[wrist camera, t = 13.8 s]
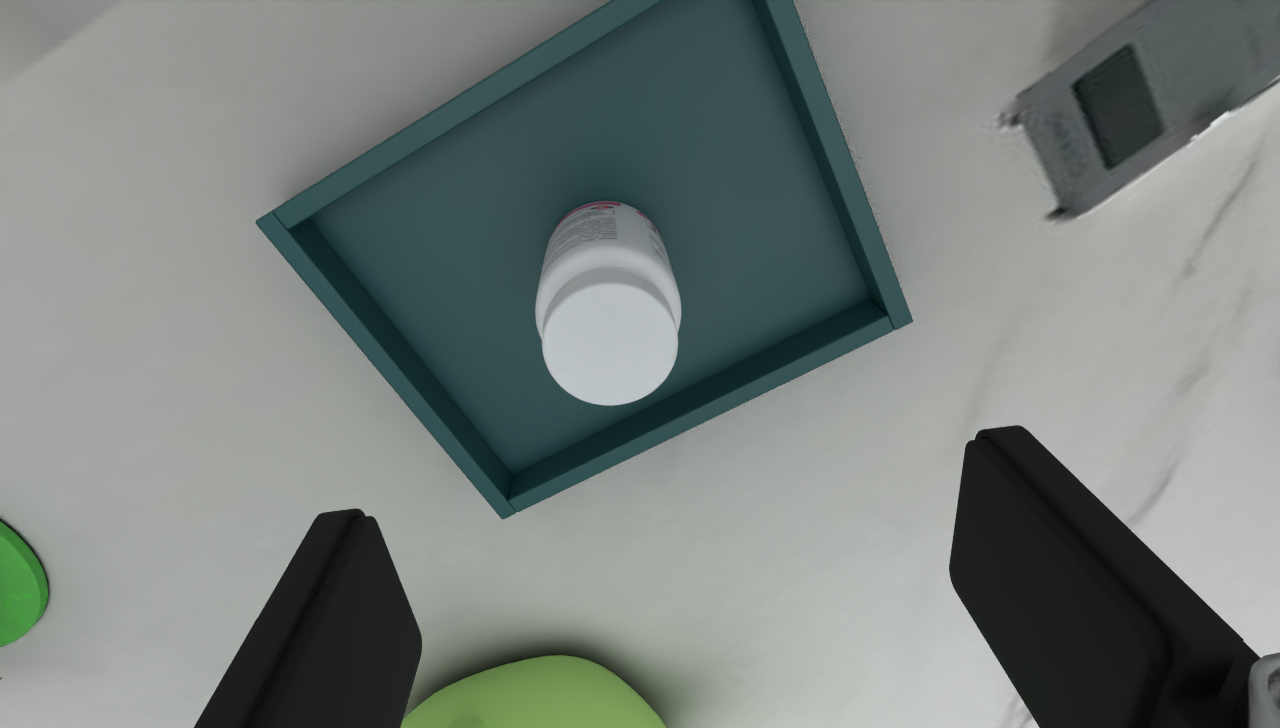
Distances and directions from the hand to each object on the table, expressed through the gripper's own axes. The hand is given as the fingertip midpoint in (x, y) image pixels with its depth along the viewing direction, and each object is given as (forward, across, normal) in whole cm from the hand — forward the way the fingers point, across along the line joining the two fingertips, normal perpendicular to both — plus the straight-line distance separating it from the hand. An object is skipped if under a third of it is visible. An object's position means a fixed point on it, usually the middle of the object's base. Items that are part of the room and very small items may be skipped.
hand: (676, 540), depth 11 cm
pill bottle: (+18, +1, +1) cm, 18 cm away
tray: (+18, +1, +1) cm, 18 cm away
